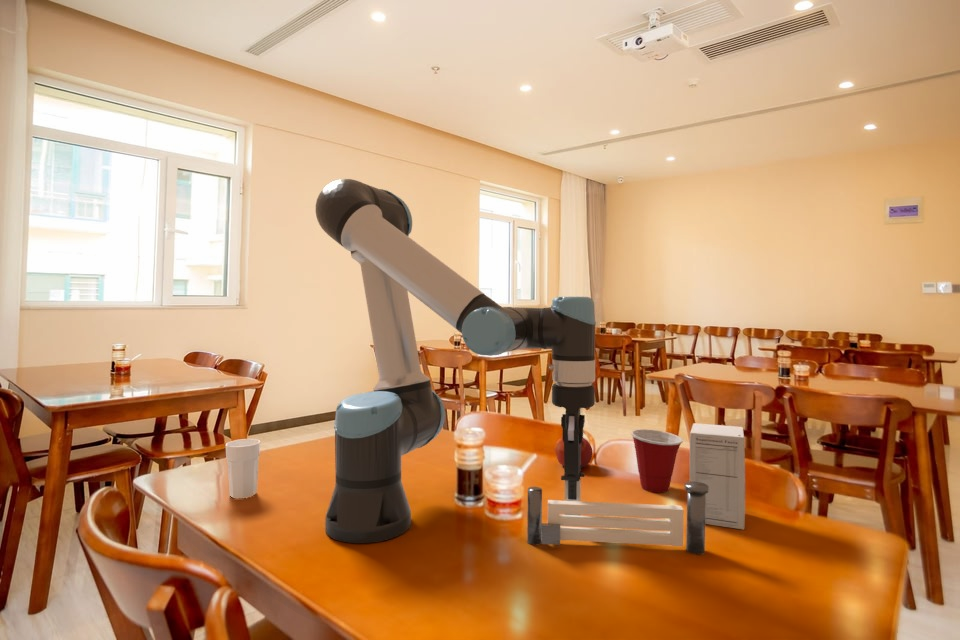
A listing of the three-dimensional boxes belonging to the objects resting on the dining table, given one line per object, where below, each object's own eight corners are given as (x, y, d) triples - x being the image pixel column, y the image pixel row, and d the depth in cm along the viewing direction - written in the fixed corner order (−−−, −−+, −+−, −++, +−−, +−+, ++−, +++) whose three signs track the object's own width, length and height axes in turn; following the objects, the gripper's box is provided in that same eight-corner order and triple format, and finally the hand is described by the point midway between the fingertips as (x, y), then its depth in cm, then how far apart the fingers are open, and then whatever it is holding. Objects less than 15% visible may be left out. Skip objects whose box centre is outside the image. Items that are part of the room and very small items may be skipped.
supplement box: (744, 513, 104) (745, 426, 103) (745, 531, 95) (747, 437, 95) (691, 505, 108) (692, 421, 107) (687, 521, 99) (689, 431, 99)
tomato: (554, 460, 138) (555, 429, 138) (591, 462, 137) (591, 431, 137) (554, 471, 129) (555, 438, 129) (593, 473, 128) (594, 440, 128)
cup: (218, 497, 110) (218, 444, 110) (243, 487, 117) (243, 437, 116) (242, 502, 108) (242, 448, 108) (267, 492, 114) (267, 440, 114)
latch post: (526, 549, 88) (527, 494, 88) (527, 538, 92) (527, 486, 92) (560, 550, 87) (560, 496, 87) (559, 540, 91) (559, 487, 91)
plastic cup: (677, 500, 110) (678, 442, 110) (625, 491, 115) (625, 436, 115) (686, 485, 119) (686, 432, 119) (636, 477, 125) (637, 426, 124)
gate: (547, 539, 89) (547, 503, 89) (547, 534, 91) (547, 499, 91) (683, 546, 87) (683, 509, 87) (680, 541, 89) (680, 505, 89)
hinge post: (687, 555, 86) (688, 488, 86) (681, 545, 90) (682, 481, 89) (710, 556, 86) (711, 489, 85) (703, 546, 89) (704, 481, 89)
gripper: (555, 377, 102) (555, 500, 103) (548, 388, 90) (547, 527, 90) (595, 379, 101) (595, 503, 101) (593, 389, 88) (593, 531, 89)
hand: (572, 514), depth 96 cm, fingers closed
